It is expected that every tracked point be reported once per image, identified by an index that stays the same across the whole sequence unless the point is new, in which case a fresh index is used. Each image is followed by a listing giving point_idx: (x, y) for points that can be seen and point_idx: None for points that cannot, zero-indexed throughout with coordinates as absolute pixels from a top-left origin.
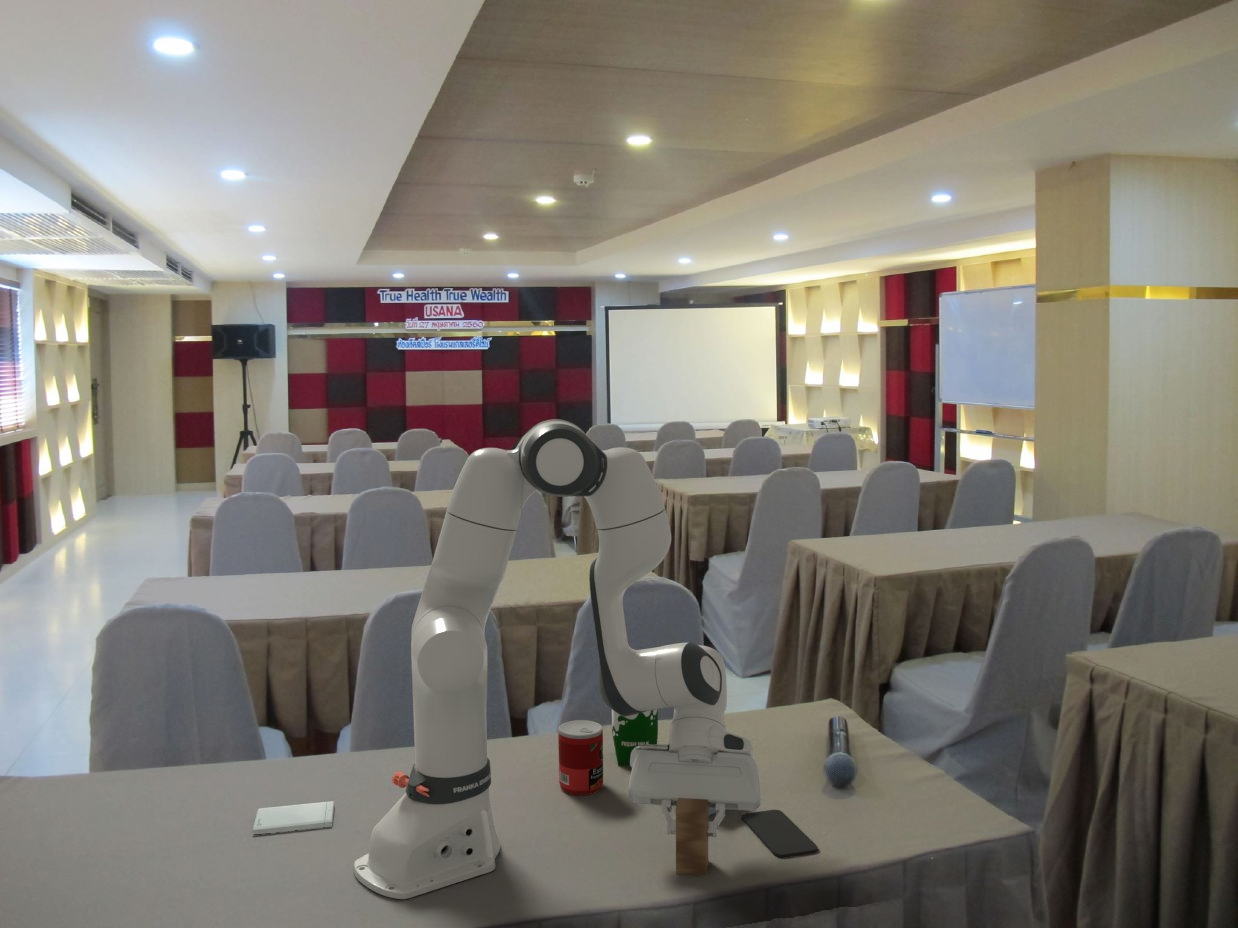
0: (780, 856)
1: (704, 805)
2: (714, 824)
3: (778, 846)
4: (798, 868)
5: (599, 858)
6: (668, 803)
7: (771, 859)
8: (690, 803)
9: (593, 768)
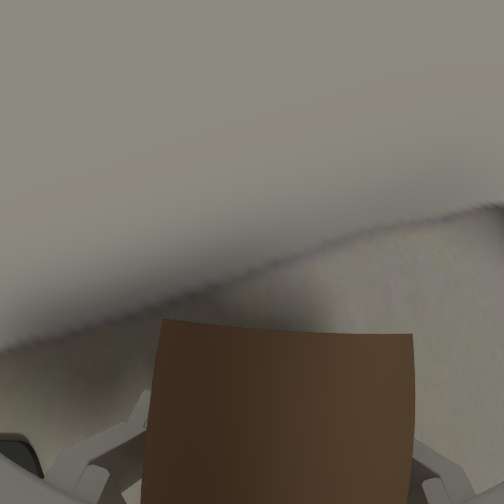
0: (25, 443)
1: (170, 423)
2: (143, 415)
3: None
4: (4, 386)
5: (485, 412)
6: (438, 494)
7: (44, 441)
8: (302, 457)
9: None
